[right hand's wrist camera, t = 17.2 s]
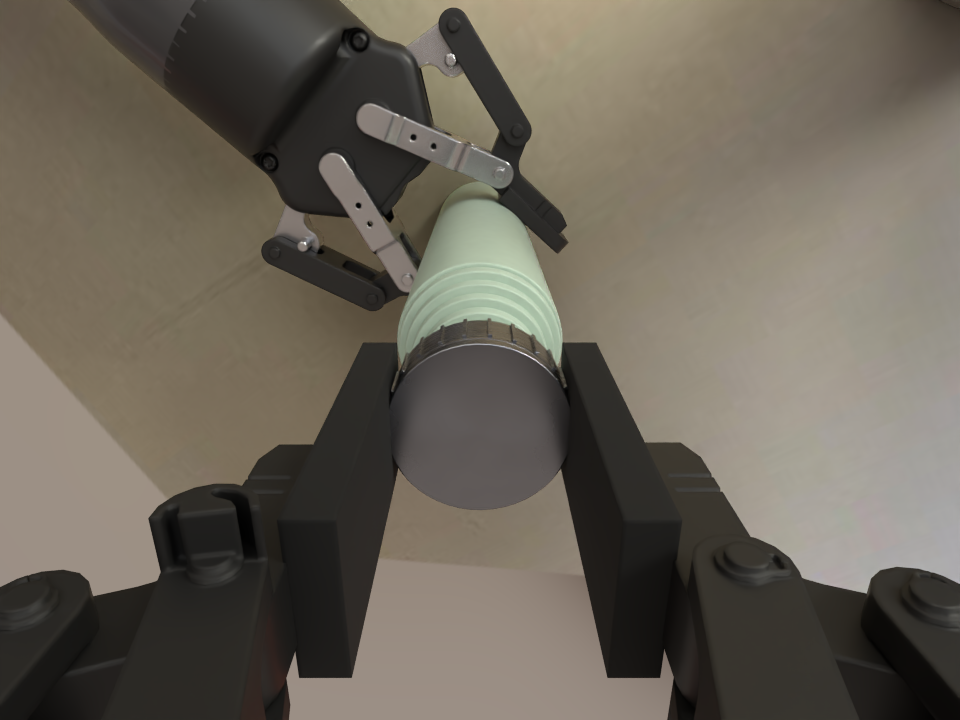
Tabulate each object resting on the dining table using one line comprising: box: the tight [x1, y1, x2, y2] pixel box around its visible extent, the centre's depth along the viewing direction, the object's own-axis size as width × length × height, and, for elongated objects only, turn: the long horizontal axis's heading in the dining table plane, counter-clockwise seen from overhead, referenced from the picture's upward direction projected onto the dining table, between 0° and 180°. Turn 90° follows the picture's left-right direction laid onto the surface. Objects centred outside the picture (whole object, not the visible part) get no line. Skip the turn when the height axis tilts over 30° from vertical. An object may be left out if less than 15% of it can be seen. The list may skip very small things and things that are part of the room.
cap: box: [389, 318, 570, 510], centre depth 14 cm, size 4×4×2 cm
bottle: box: [397, 182, 562, 366], centre depth 25 cm, size 5×5×24 cm
